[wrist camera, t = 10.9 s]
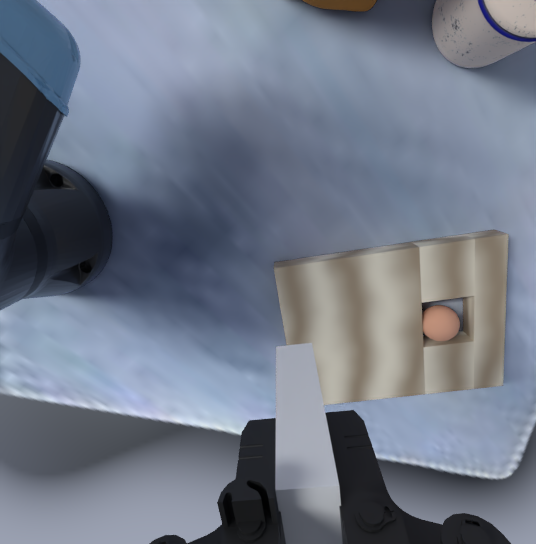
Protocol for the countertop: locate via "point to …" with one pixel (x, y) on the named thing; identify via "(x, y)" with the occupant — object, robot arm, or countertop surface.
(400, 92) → the countertop surface
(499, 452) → the countertop surface
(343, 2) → the coffee package
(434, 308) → the ball
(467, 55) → the teacup with lid
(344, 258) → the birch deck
